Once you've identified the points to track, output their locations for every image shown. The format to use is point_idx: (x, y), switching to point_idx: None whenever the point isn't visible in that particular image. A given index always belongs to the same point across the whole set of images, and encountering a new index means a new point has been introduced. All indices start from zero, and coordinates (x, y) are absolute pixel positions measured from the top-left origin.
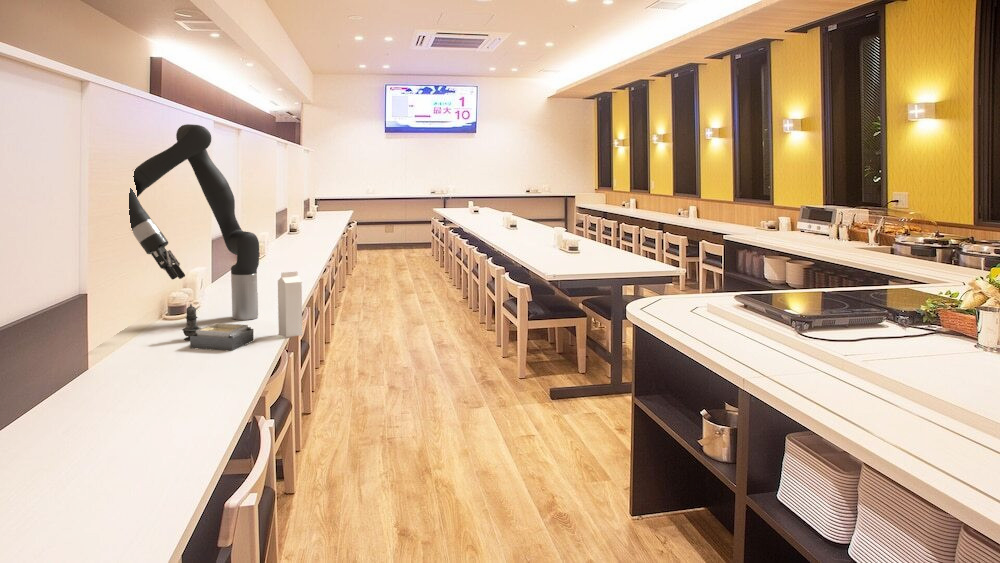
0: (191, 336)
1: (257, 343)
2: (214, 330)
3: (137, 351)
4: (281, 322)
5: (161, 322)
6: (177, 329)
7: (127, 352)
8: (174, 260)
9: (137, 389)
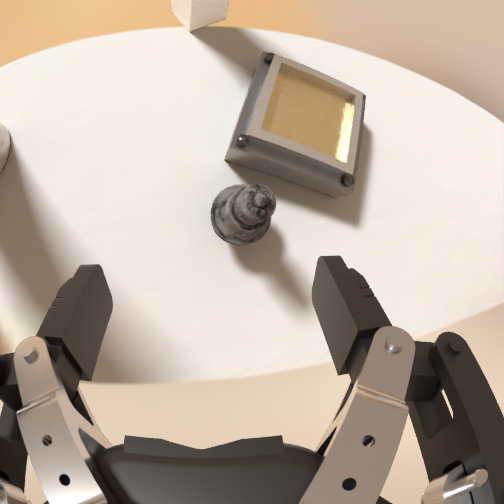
0: (352, 188)
1: None
2: (299, 134)
3: None
4: (207, 5)
5: None
6: None
7: None
8: (66, 416)
9: (495, 224)
